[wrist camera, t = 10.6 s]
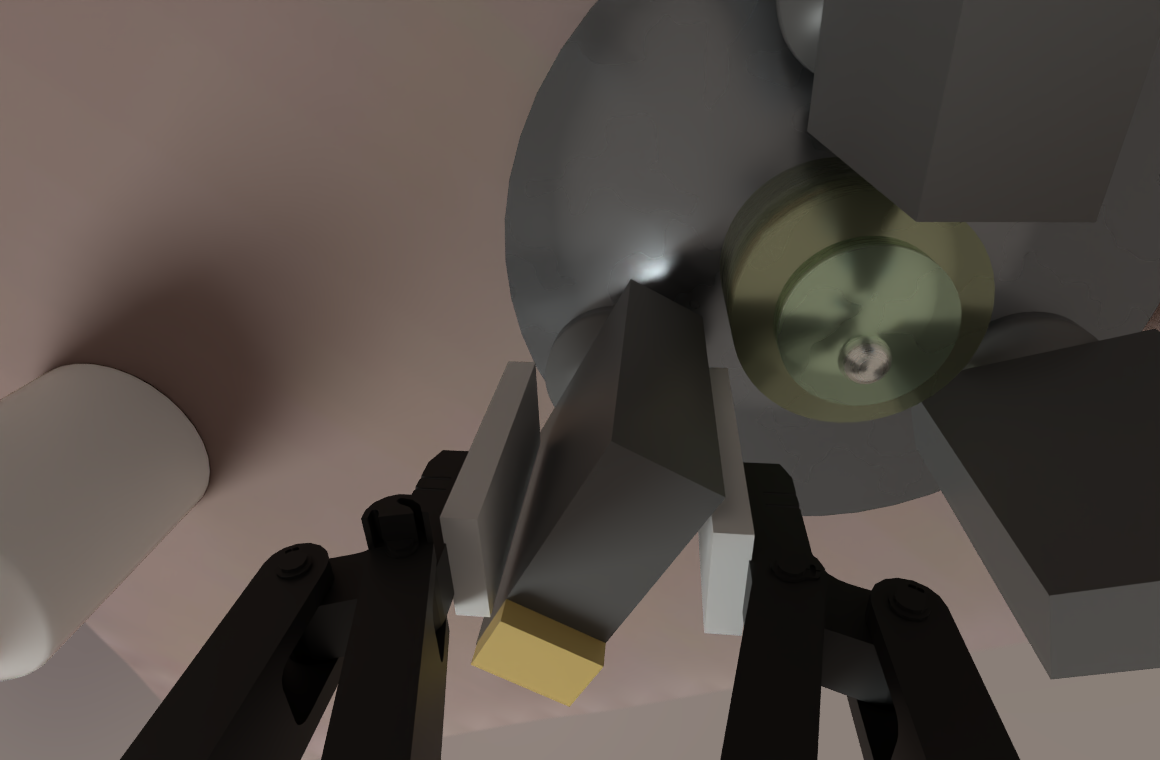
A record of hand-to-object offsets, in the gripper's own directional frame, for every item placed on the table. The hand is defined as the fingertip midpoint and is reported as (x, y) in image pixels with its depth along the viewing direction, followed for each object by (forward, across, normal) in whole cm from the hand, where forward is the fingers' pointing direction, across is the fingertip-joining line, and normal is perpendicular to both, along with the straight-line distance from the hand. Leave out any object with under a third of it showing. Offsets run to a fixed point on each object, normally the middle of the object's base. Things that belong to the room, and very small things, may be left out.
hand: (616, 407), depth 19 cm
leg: (+3, +12, 0) cm, 12 cm away
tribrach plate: (+5, +6, +3) cm, 8 cm away
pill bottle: (+5, -21, -6) cm, 22 cm away
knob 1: (+3, 0, 0) cm, 3 cm away
